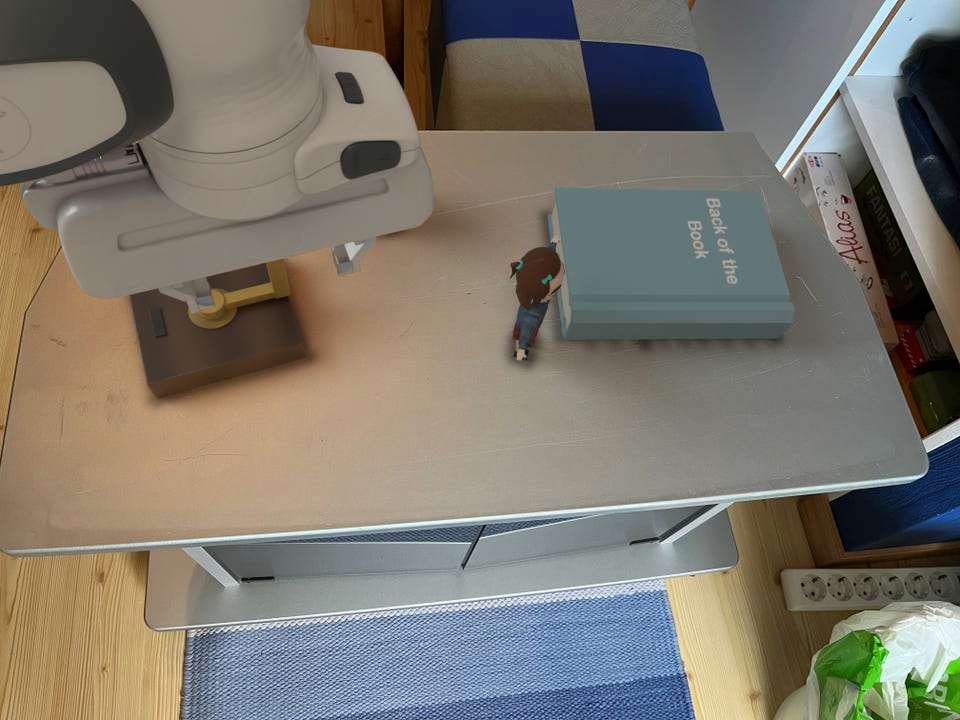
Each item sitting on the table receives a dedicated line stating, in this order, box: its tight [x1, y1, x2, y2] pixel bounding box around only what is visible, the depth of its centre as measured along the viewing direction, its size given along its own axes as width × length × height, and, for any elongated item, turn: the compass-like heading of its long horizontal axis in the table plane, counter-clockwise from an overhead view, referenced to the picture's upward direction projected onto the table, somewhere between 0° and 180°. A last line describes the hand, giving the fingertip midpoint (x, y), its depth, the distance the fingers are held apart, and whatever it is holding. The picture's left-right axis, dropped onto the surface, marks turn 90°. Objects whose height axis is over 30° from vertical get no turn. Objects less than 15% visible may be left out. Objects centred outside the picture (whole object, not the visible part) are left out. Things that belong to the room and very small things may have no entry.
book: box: [546, 187, 795, 341], centre depth 78 cm, size 23×16×5 cm
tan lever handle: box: [199, 259, 292, 320], centre depth 67 cm, size 9×3×7 cm, turn 111°
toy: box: [509, 235, 565, 362], centre depth 68 cm, size 14×5×15 cm, turn 164°
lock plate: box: [128, 263, 307, 399], centre depth 71 cm, size 14×12×3 cm
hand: (276, 283), depth 48 cm, fingers open, 8 cm apart
